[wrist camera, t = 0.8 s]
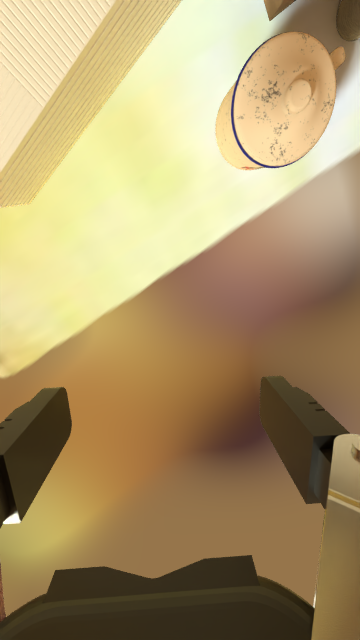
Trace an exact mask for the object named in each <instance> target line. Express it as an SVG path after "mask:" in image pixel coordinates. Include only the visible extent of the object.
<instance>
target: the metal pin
mask: <svg viewBox="0 0 360 640" xmlns="http://www.w3.org/2000/svg"><path fill="white" fill-rule="evenodd" d="M336 21H337V29H338V32H339V34H340V36H341V37H342V38H343V39H345V40H347V41H354V40H356V39H358V38H360V0H341V3H340V5H339V8H338V12H337V20H336Z"/></svg>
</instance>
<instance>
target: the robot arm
mask: <svg viewBox="0 0 360 640" xmlns="http://www.w3.org/2000/svg"><path fill="white" fill-rule="evenodd" d="M260 390H261V391H260V419H261V423H262V426H263V428H264V429H265V431H266V433H267V435H268V437H269V438H270V440H271V442H272V443H273V445H274V447H275V449H276V451H277V453H278V455H279V456H280V458H281V460H282V462H283V463H284V465H285V467H286V469H287V471H288V472H289V474H290V476H291V478H292V479H293V481H294V483H295V485H296V487H297V488H298V490H299V492H300V494H301V495H302V497H303V499H304V501H305V503H306V504H312V503H321V504H322V506H323V507H324V509H325V514H324V522H323V530H322V538H321V546H320V555H319V563H318V571H317V579H316V588H315V596H314V604H313V607H312V606H311V605H310V604H309V603H308V602H307V601H305V600H304V599H303V598H301V597H300V596H299V595H297V594H296V593H294V592H293V591H291V590H290V589H288V588H286V587H284V586H282V585H281V584H279V583H277V582H274V581H272V580H270V579H267V578H264V577H261V576H257V574H256V570H255V566H254V562H253V559H252V555H247V556H235V557H222V558H209V559H203V560H200V561H198V562H195V563H193V564H190V565H188V566H186V567H183V568H181V569H178V570H176V571H173V572H171V573H169V574H166V575H164V576H162V577H159V578H154V579H151V578H146V577H142V576H138V575H135V574H131V573H127V572H123V571H120V570H116V569H112V568H108V567H91V568H78V569H66V570H55V573H54V575H53V578H52V581H51V583H50V586H49V589H48V592H47V593H46V594H43V595H41V596H39V597H37V598H35V599H33V600H31V601H29V602H28V603H26V604H25V605H23V606H21V607H20V608H19V609H17V610H15V611H14V612H12V613H11V614H10V615H9V616H7V617H6V614H5V607H4V597H3V586H2V575H1V564H0V640H360V435H355V434H350V433H349V432H348V431H347V430H346V429H345V428H344V427H343V426H342V425H341V424H340V423H339V422H338V421H337V420H335V418H334V417H333V416H331V415H330V414H329V413H328V412H327V411H325V409H324V408H323V407H322V406H321V405H320V404H318V403H317V401H316V400H315V399H314V398H313V397H312V396H310V394H308V393H306V392H304V391H303V390H301V389H299V388H297V387H292V386H291V385H290V384H289V383H288V382H287V381H286V380H285V378H284V377H282V376H270V377H262V379H261V388H260ZM71 426H72V421H71V415H70V409H69V403H68V397H67V392H66V389H65V388H64V387H59V388H44V389H42V390H41V391H40V392H39V393H38V394H37V395H36V396H35V397H34V398H33V399H32V400H31V401H30V402H27V403H25V404H24V405H22V406H20V407H19V408H17V409H15V410H14V411H13V412H12V413H11V414H10V415H9V416H8V417H7V418H6V419H5V421H3V422H2V423H0V528H1V526H2V525H3V524H10V523H21V521H22V519H23V517H24V516H25V514H26V512H27V510H28V509H29V507H30V505H31V503H32V502H33V500H34V498H35V496H36V495H37V493H38V491H39V489H40V488H41V486H42V484H43V482H44V481H45V479H46V477H47V475H48V474H49V472H50V470H51V468H52V466H53V465H54V463H55V461H56V460H57V458H58V456H59V454H60V452H61V451H62V449H63V447H64V445H65V444H66V442H67V440H68V438H69V436H70V433H71Z"/></svg>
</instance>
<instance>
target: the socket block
mask: <svg viewBox="0 0 360 640" xmlns="http://www.w3.org/2000/svg"><path fill="white" fill-rule="evenodd" d="M294 1H296V0H264V3H265V6H266V10H267V13H268V17H269V20H270V21H271V20H272V19H273V18H274V17H276V16H277V15H278V14H279V13H281V12H282V11H283V10H284V9H286V8H287V7H288V6H289V5H291V4H292V3H293V2H294Z"/></svg>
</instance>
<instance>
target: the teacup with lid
mask: <svg viewBox="0 0 360 640" xmlns="http://www.w3.org/2000/svg"><path fill="white" fill-rule="evenodd" d="M345 57H346V55H345V51H344V48H343V47H338V48H336V49H335V50H334V51H332V52H331V53H330V54H329V53H328V51H327V50H326V48H325V47H324V46H323V44H322V43H321V42H320V41H318V40H317V39H316V38H314V37H313V36H311V35H309V34H306V33H303V32H286V33H282V34H279V35H276V36H274V37H272V38H270V39H268V40H267V41H265V42H264V43H263V44H262V45H260V46H259V47H258V48H257V49H256V50H255V51H254V52H253V53H252V55H251V56H250V57H249V59H248V60H247V61H246V63H245V65H244V66H243V68H242V70H241V72H240V74H239V76H238V79H237V81H236V82H235V83H234V85H233V86H232V88H231V89H230V90H229V92H228V93H227V95H226V96H225V98H224V99H223V101H222V103H221V106H220V108H219V111H218V114H217V119H216V140H217V144H218V147H219V150H220V152H221V154H222V156H223V157H224V158H225V160H226V161H227V162H228V163H229V164H231V165H232V166H234V167H236V168H238V169H241V170H254V169H259V168H265V167H266V168H280V167H284V166H287V165H290V164H292V163H294V162H296V161H297V160H299V159H300V158H302V157H303V156H304V155H306V154H307V153H308V152H309V151H310V150H311V149H312V148H313V146H314V145H315V144H316V143H317V142H318V140H319V139H320V137H321V136H322V134H323V133H324V131H325V129H326V127H327V125H328V122H329V120H330V117H331V115H332V111H333V107H334V103H335V97H336V75H335V70H336V69H337V68H338V67H339V66H340V65H341V64H342V63H343V62H344V60H345Z"/></svg>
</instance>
